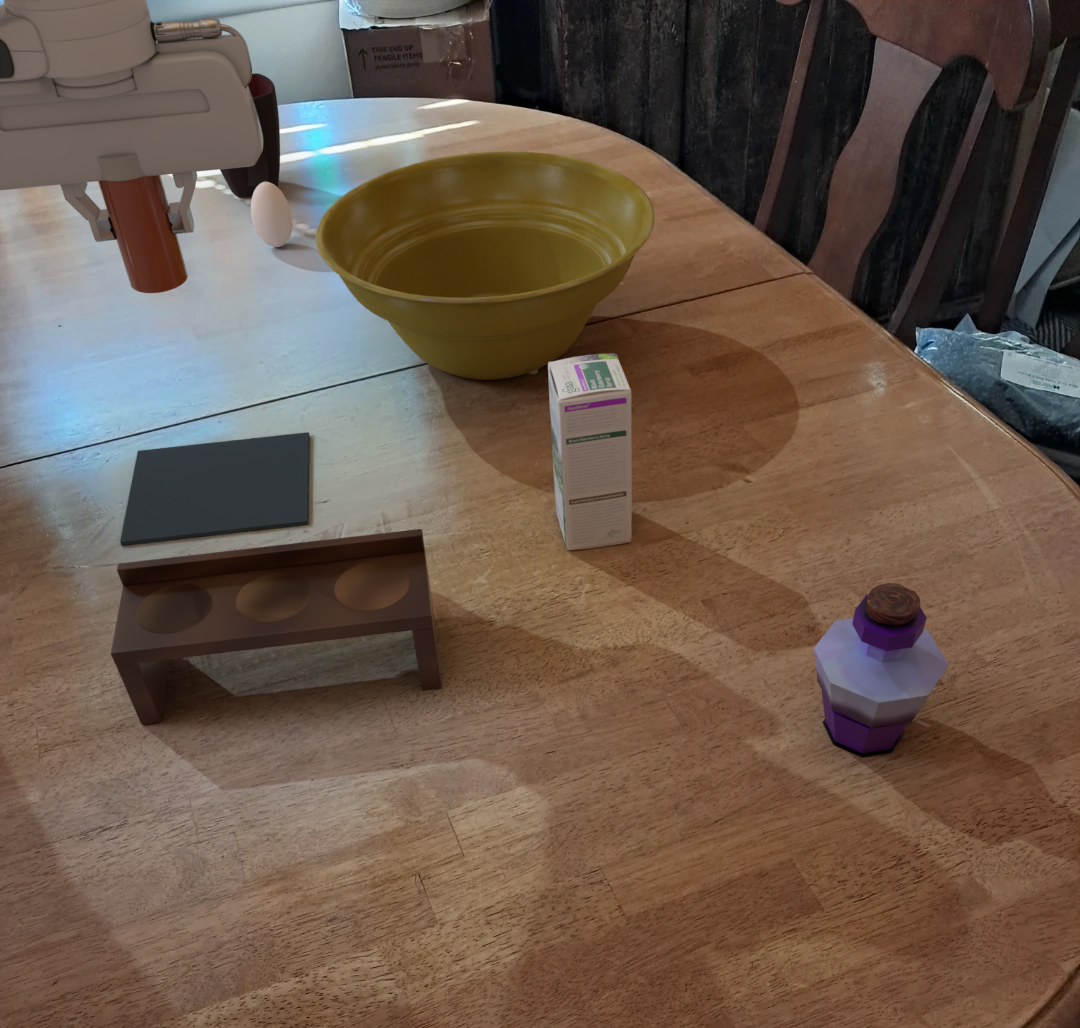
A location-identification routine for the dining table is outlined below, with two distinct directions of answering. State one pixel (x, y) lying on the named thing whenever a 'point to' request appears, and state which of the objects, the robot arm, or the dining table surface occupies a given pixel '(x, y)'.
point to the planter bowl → (487, 254)
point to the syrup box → (591, 450)
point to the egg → (271, 214)
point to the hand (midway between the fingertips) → (145, 234)
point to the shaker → (141, 225)
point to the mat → (218, 488)
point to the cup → (269, 160)
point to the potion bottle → (877, 671)
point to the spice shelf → (270, 605)
